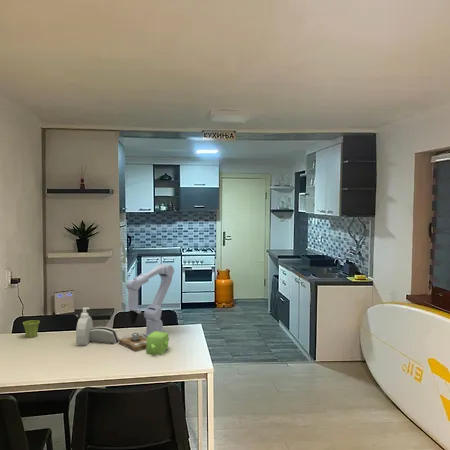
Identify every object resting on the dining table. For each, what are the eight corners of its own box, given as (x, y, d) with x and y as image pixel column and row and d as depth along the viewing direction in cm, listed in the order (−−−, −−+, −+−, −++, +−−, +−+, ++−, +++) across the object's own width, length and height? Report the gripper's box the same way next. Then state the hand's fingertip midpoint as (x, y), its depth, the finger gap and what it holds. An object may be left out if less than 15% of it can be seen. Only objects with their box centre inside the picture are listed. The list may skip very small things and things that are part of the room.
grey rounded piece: (120, 340, 253) (117, 326, 250) (116, 345, 249) (113, 331, 245) (94, 338, 258) (91, 324, 254) (90, 343, 253) (87, 329, 250)
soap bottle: (85, 346, 242) (85, 311, 242) (76, 346, 242) (75, 311, 241) (93, 338, 258) (93, 304, 258) (84, 338, 258) (84, 305, 257)
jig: (139, 339, 256) (139, 334, 256) (155, 346, 242) (155, 341, 242) (119, 343, 247) (119, 338, 247) (134, 351, 234) (134, 346, 234)
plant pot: (22, 335, 264) (22, 321, 264) (39, 333, 268) (39, 319, 268) (22, 339, 256) (22, 324, 256) (40, 337, 260) (40, 323, 260)
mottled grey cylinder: (136, 343, 249) (136, 332, 249) (139, 344, 246) (139, 334, 246) (131, 344, 246) (130, 333, 246) (134, 345, 244) (134, 335, 244)
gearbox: (160, 359, 224) (161, 341, 223) (142, 356, 226) (143, 338, 225) (172, 347, 241) (173, 331, 240) (156, 345, 243) (156, 329, 243)
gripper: (121, 299, 257) (121, 322, 257) (133, 303, 246) (133, 327, 246) (131, 297, 261) (132, 320, 262) (144, 301, 250) (144, 325, 251)
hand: (133, 323), depth 254 cm, fingers closed
